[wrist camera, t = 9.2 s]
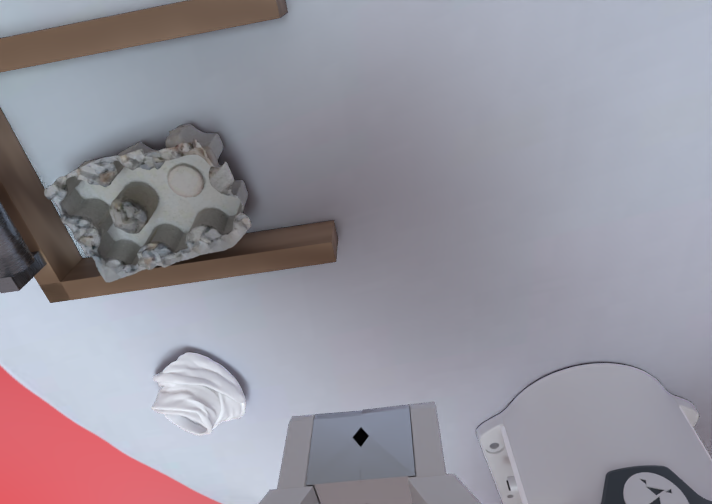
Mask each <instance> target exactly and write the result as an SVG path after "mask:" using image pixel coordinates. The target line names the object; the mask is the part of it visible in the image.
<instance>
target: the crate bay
mask: <svg viewBox="0 0 712 504" xmlns="http://www.w3.org/2000/svg"><path fill="white" fill-rule="evenodd" d="M286 13H288V11H287V6H286V2H285V0H187V1H182V2H177V3H172V4H167V5H162V6H158V7H153V8H148V9H143V10H138V11H133V12H128V13H123V14H118V15H113V16H108V17H103V18H98V19H93V20H88V21H83V22H78V23H73V24H68V25H64V26H59V27H54V28H49V29H44V30H39V31H34V32H29V33H24V34H19V35H14V36H9V37H4V38H0V72H5V71H10V70H15V69H20V68H25V67H30V66H35V65H41V64H46V63H51V62H56V61H61V60H66V59H71V58H76V57H82V56H87V55H92V54H97V53H102V52H107V51H112V50H118V49H123V48H128V47H133V46H138V45H143V44H148V43H153V42H159V41H164V40H169V39H174V38H179V37H184V36H189V35H195V34H200V33H205V32H210V31H215V30H220V29H225V28H230V27H236V26H241V25H246V24H251V23H256V22H261V21H266V20H272V19H277V18H281V17H282V16H283V15H285V14H286ZM44 190H45V189H44V187H43V186H42V184H41V182H40V180H39V178H38V176H37V175H36V173H35V171H34V169H33V167H32V165H31V163H30V162H29V160H28V158H27V156H26V154H25V152H24V151H23V149H22V147H21V145H20V143H19V141H18V140H17V138H16V136H15V134H14V132H13V130H12V129H11V127H10V125H9V123H8V121H7V119H6V118H5V116H4V114H3V112H2V110H1V108H0V202H1V203H2V205H3V207H4V208H5V210H6V212H7V213H8V215H9V217H10V218H11V220H12V222H13V223H14V225H15V227H16V228H17V230H18V232H19V233H20V235H21V237H22V238H23V240H24V242H25V243H26V245H27V247H28V248H29V250H30V252H35V251H40V253H41V254H42V256H43V258H44V259H45V261H46V263H47V264H46V265H45V266H44V267H43V268H42V269H41V270H40V271H39V272H38V273H37V274H36V275H35V276H34V277H35V279H36V280H37V282H38V284H39V285H40V287H41V289H42V290H43V292H44V293H45V295H46V297H47V298H48V300H49V301H50V303H53V302H60V301H67V300H74V299H81V298H88V297H95V296H102V295H109V294H116V293H123V292H130V291H137V290H144V289H151V288H158V287H164V286H171V285H178V284H185V283H192V282H199V281H206V280H213V279H220V278H227V277H234V276H241V275H248V274H255V273H262V272H269V271H276V270H283V269H289V268H296V267H303V266H310V265H317V264H324V263H331V262H336V259H337V246H338V236H337V232H336V227H335V223H334V220H332V221H325V222H319V223H312V224H306V225H299V226H292V227H286V228H279V229H273V230H266V231H260V232H253V233H246V234H244V236H243V237H242V238H241V239H240V240H239V242H238V243H237V244H235V245H234V246H233V247H231V248H229V249H227V250H224V251H219V252H214V253H209V254H203V255H199V256H197V257H194V258H192V259H188V260H183V261H180V262H177V263H174V264H172V265H170V266H167V267H165V268H164V267H162V266H156V267H155V268H153V269H151V270H148V269H145V270H141V271H139V272H137V273H136V274H133V275H130V276H127V277H124V278H121V279H118V280H115V281H112V282H105V280H104V279H103V277H102V276H101V274H100V273H99V271H98V269H97V267H96V264H95V261H94V259H93V258H92V257H89V258H82V257H81V255H80V254H79V252H78V250H77V248H76V246H75V244H74V242H73V241H72V239H71V237H70V235H69V233H68V231H67V230H66V228H65V226H64V224H63V223H62V221H61V219H60V217H59V215H58V213H57V211H56V209H55V208H54V206H53V204H52V202H51V200H49V199H47V198H46V196H45V195H44Z"/></svg>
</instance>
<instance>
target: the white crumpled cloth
mask: <svg viewBox="0 0 712 504" xmlns="http://www.w3.org/2000/svg"><path fill="white" fill-rule="evenodd" d="M153 380H154V381H155V382H158V385H159V386H160V387H162V388H161V390H160V391H159V392H158V395H157V398H156V401H155V403H154V404H153V406H152V407H151V409H152V410H154V411H155V412H157V413H162V414H165V417H166V418H167V419H168V420H170V421H171V422H172V423H174V424H175V425H176V426H178V427H179V428H181V429H183V430H185V431H186V432H189V433H191V434H194V435H199V436H201V435H206V434H211V433H212V429H214V428H216V427H217V426H218V425H219V423H221V422H223V421H225V422H226V421H230V420H232V419H238V418H241V417H242V416H243V415H244V414H245V409H246V398H245V396H244V394H243V391H242V389H241V387H240V385H239V383H238V381H237V380H236V379H235V377H234V376H233V375H231V373H230V372H229V371H228V370H226V369H225V368H224V367H223V366H222V365H221V364H219V363H217V362H215V361H213V360H211V359H210V358H208V357H206V356H203V355H201V354H198V353H192V352H186V353H185V354H184V355H181V356H179V358H178V360H177V361H174V362H172V363H170V365H169V366H167V367H166V368H165V369H164V370H163V372H160V373H159V374H157V375H153Z"/></svg>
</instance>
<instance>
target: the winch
mask: <svg viewBox="0 0 712 504" xmlns="http://www.w3.org/2000/svg"><path fill="white" fill-rule="evenodd" d="M46 264H47V263H46V261H45V259H44V258H43V256H42V254H41V253H40V251H35V252H30V250H29V248H28V247H27V245H26V243H25V242H24V240H23V238H22V237H21V235H20V233H19V232H18V230H17V228H16V227H15V225H14V223H13V222H12V220H11V218H10V217H9V215H8V213H7V212H6V210H5V208H4V207H3V205H2V203H1V202H0V292H1V293H6V292H13V291H19V290H20V289H21V288H22V287H23V286H25V285H26V284H27V283H28V282H29V281H30V280H31V279H32V278H33V277H34V276H35V275H36V274H37V273H38V272H39V271H40V270H41V269H42V268H43V267H44V266H45V265H46Z"/></svg>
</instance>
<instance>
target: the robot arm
mask: <svg viewBox="0 0 712 504" xmlns="http://www.w3.org/2000/svg"><path fill="white" fill-rule="evenodd" d="M698 419H699V413H698V412H697V410H696V408H695V406H694V405H693V404H692V403H691V402H690V401H688V400H686V399H683V398H680V397H678V396H675V395H672V394H670V393H669V392H668V391H667V390H665V388H664V387H663V386H662V385H661V384H660V383H659V381H658V380H656V379H655V378H654V377H653V376H651V375H650V374H648V373H646V372H644V371H642V370H640V369H638V368H634V367H631V366H627V365H622V364H613V363H594V364H586V365H580V366H575V367H571V368H567V369H564V370H560V371H558V372H555V373H553V374H550V375H548V376H546V377H544V378H542V379H540V380H538V381H536V382H535V383H533V384H532V385H530V386H529V387H527V388H526V389H525V390H523V391H522V392H521V393H520V394H519V395H518V396H517V397H516V398H515V399H514V400H513V401H512V402H511V404H510V405H509V406H508V407H507V408H506V409H505V410H504V411H503V412H502V413H500V414H498V415H496V416H494V417H493V418H491V419H489V420H487V421H486V422H484V423H483V424H481V425H480V426H479V427H478V428H477V430H476V435H477V438H478V441H479V443H480V446H481V448H482V451H483V454H484V456H485V459H486V461H487V464H488V467H489V469H490V472H491V474H492V477H493V479H494V482H495V485H496V487H497V490H498V492H499V495H500V498H501V500H502V503H503V504H712V458H711V456H710V455H709V453H708V451H707V450H706V448H705V446H704V445H703V443H702V441H701V440H700V438H699V436H698V435H697V433H696V431H695V430H694V426H695V425H696V423H697V421H698ZM259 504H481V503H480V502H479V501H478V500H477V499H476V498H475V496H474V495H473V494H472V493H471V492H470V491H469V490H468V489H467V488H466V486H465V485H464V484H463V483H462V482H461V481H460V480H459V479H458V478H457V476H456V475H455V474H446V469H445V462H444V456H443V449H442V443H441V436H440V429H439V423H438V416H437V410H436V405H435V402H429V403H420V404H411V405H410V404H408V405H399V406H391V407H382V408H374V409H365V410H362V411H350V412H337V413H325V414H315V415H303V416H292V418H291V420H290V422H289V425H288V430H287V436H286V442H285V447H284V453H283V458H282V464H281V470H280V475H279V481H278V486H277V489H272V490H269V492H268V493H267V494H266V495H265V496H264V498H263V499H262V500H261V501H260V503H259Z"/></svg>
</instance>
